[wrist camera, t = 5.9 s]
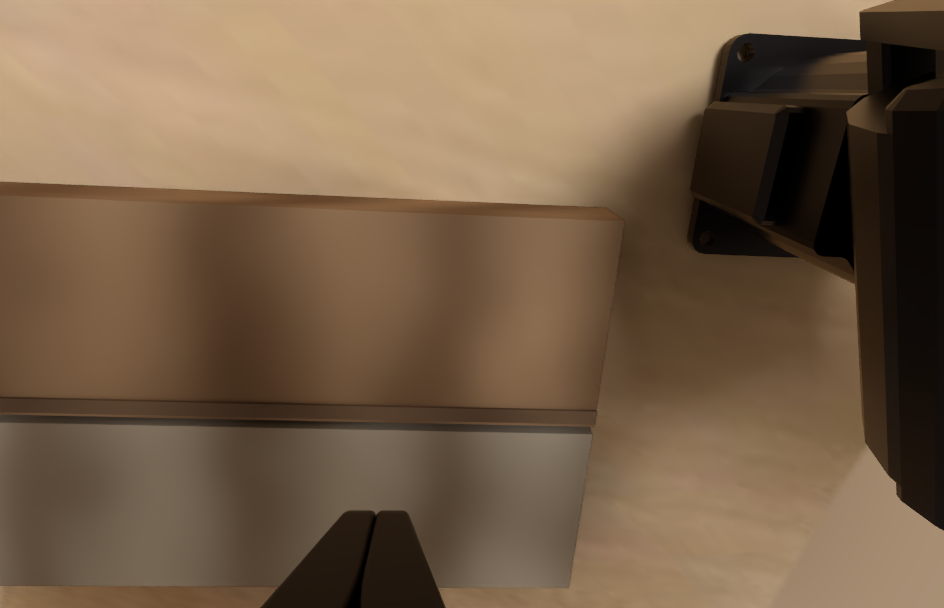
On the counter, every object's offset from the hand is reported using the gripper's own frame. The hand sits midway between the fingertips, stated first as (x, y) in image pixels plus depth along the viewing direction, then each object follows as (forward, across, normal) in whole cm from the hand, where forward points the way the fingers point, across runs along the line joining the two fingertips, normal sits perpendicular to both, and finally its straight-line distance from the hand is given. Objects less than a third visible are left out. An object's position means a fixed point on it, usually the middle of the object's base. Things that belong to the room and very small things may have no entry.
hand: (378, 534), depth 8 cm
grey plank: (+12, +5, +8) cm, 15 cm away
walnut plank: (+12, +5, +1) cm, 13 cm away
